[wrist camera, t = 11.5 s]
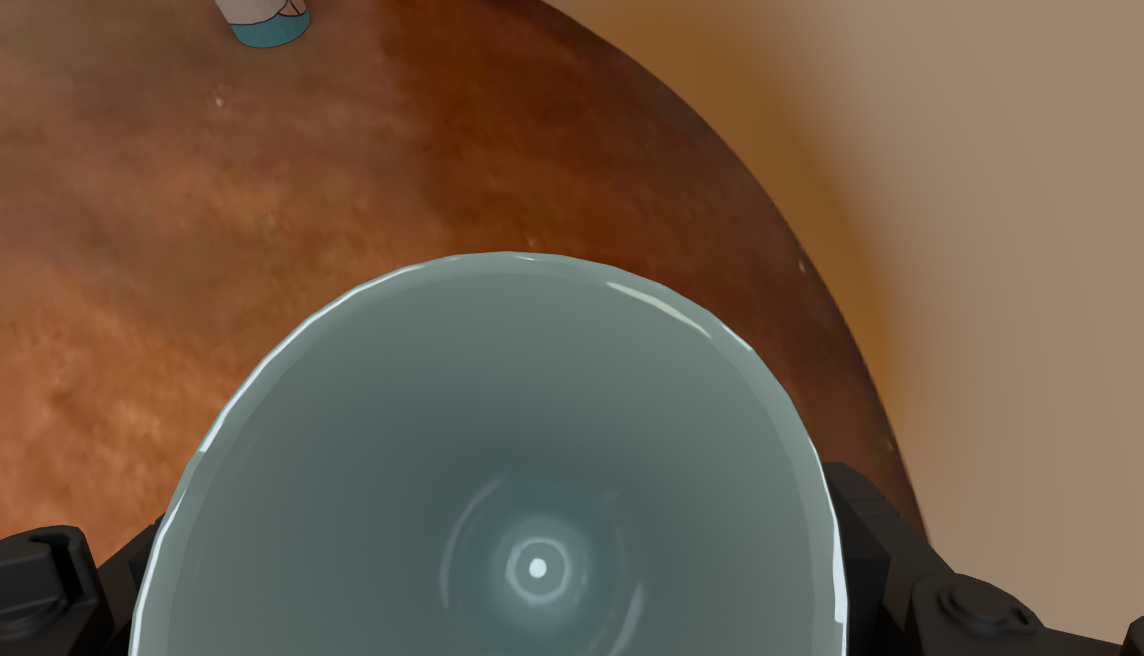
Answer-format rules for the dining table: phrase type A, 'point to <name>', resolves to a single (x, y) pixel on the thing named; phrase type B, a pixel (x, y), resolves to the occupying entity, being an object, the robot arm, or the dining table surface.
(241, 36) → the cup
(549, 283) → the cup
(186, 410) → the dining table surface
